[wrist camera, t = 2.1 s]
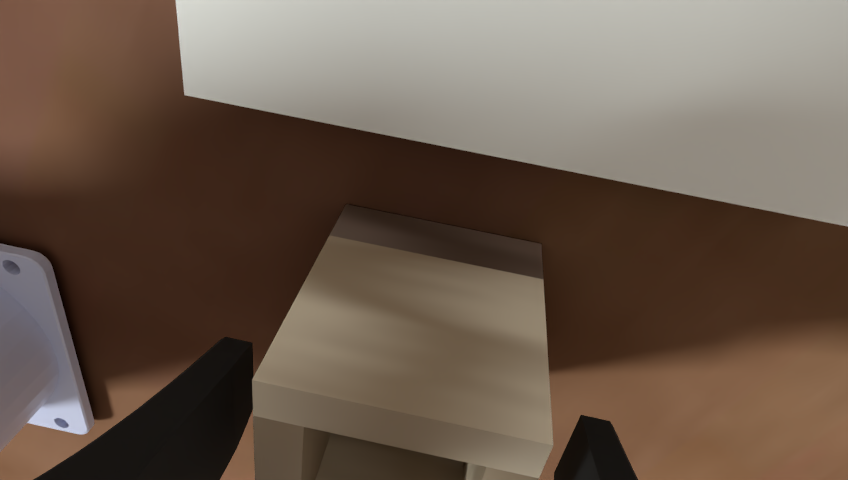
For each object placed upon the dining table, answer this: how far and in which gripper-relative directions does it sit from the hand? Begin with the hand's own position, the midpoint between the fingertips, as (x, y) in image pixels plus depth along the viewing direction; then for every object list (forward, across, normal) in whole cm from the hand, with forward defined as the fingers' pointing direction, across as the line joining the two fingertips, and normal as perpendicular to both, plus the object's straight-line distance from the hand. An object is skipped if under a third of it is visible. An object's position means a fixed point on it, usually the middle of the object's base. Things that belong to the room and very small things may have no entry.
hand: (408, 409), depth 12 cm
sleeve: (+4, 0, 0) cm, 4 cm away
